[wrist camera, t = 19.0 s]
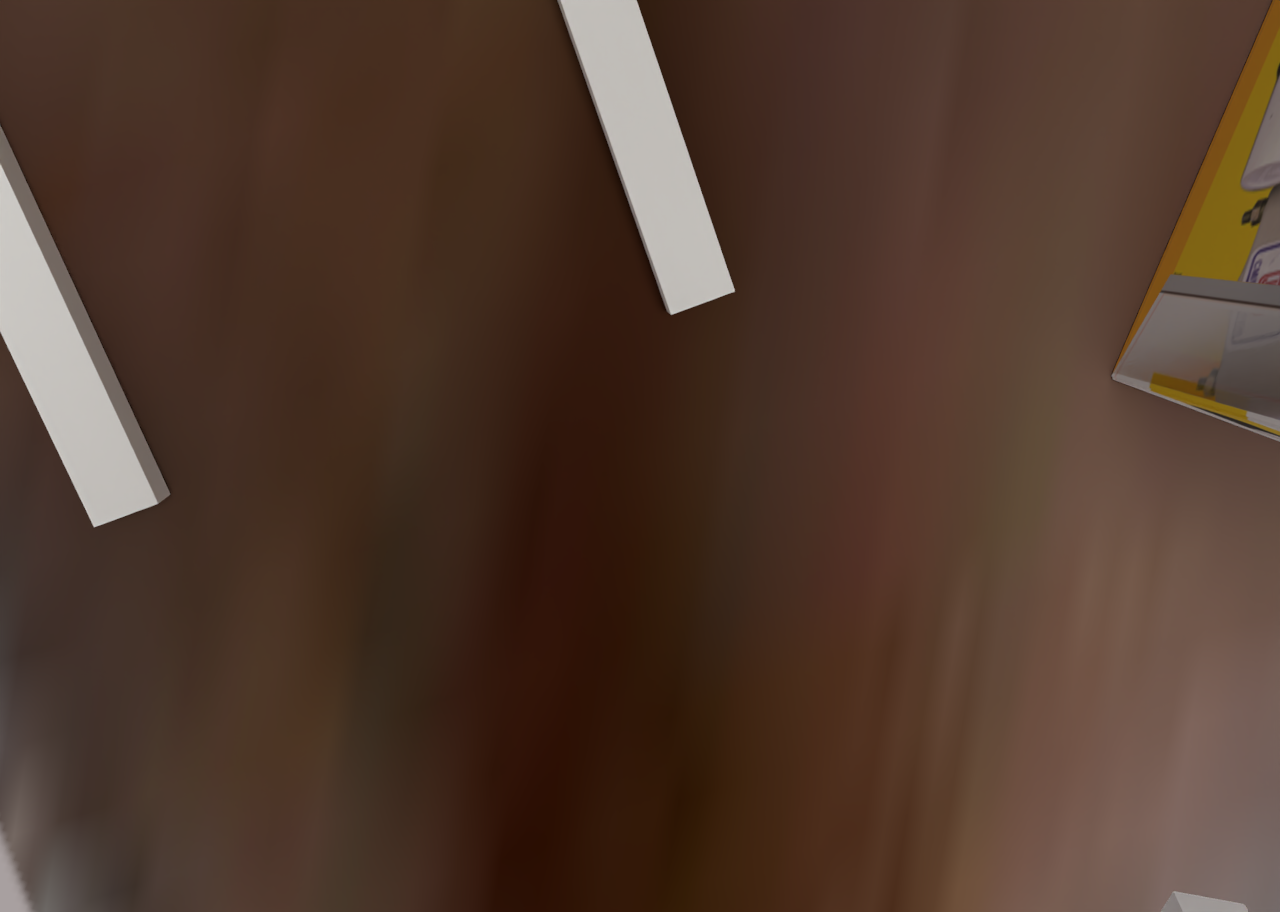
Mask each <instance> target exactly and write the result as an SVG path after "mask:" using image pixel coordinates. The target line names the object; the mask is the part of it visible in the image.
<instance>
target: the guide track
mask: <svg viewBox="0 0 1280 912" xmlns="http://www.w3.org/2000/svg"><path fill="white" fill-rule="evenodd" d="M557 1H558V4H559V6H560V9H561V12H562V15H563V18H564V21H565V23H566V26H567V29H568V32H569V35H570V38H571V40H572V43H573V46H574V49H575V52H576V55H577V58H578V60H579V63H580V66H581V69H582V72H583V75H584V77H585V80H586V83H587V86H588V89H589V92H590V94H591V97H592V100H593V103H594V106H595V109H596V111H597V114H598V117H599V120H600V123H601V126H602V128H603V131H604V134H605V137H606V140H607V143H608V145H609V148H610V151H611V154H612V157H613V160H614V162H615V165H616V168H617V171H618V174H619V177H620V179H621V182H622V185H623V188H624V191H625V194H626V197H627V199H628V202H629V205H630V208H631V211H632V214H633V216H634V219H635V222H636V225H637V228H638V231H639V233H640V236H641V239H642V242H643V245H644V248H645V250H646V253H647V256H648V259H649V262H650V265H651V267H652V270H653V273H654V276H655V279H656V282H657V284H658V287H659V290H660V293H661V296H662V299H663V301H664V304H665V307H666V310H667V312H668V313H669V314H671V315H672V314H675V313H678V312H681V311H683V310H686V309H689V308H691V307H694V306H697V305H700V304H702V303H705V302H708V301H710V300H713V299H716V298H719V297H721V296H724V295H727V294H729V293H732V292H735V290H734V287H733V284H732V281H731V278H730V275H729V272H728V269H727V266H726V263H725V260H724V257H723V254H722V251H721V248H720V245H719V242H718V239H717V236H716V234H715V231H714V228H713V225H712V222H711V219H710V216H709V213H708V210H707V207H706V204H705V201H704V198H703V195H702V192H701V189H700V186H699V183H698V180H697V177H696V174H695V171H694V169H693V166H692V163H691V160H690V157H689V154H688V151H687V148H686V145H685V142H684V139H683V136H682V133H681V130H680V127H679V124H678V121H677V118H676V115H675V112H674V109H673V106H672V104H671V101H670V98H669V95H668V92H667V89H666V86H665V83H664V80H663V77H662V74H661V71H660V68H659V65H658V62H657V59H656V56H655V53H654V50H653V47H652V44H651V41H650V39H649V36H648V33H647V30H646V27H645V24H644V21H643V18H642V15H641V12H640V9H639V6H638V3H637V0H557ZM0 332H1V334H2V336H3V338H4V340H5V342H6V345H7V347H8V349H9V351H10V353H11V355H12V357H13V359H14V361H15V363H16V365H17V368H18V370H19V372H20V374H21V376H22V378H23V380H24V382H25V384H26V386H27V388H28V390H29V393H30V395H31V397H32V399H33V401H34V403H35V405H36V407H37V409H38V411H39V413H40V416H41V418H42V420H43V422H44V424H45V426H46V428H47V430H48V432H49V434H50V436H51V438H52V441H53V443H54V445H55V447H56V449H57V451H58V453H59V455H60V457H61V459H62V461H63V464H64V466H65V468H66V470H67V472H68V474H69V476H70V478H71V480H72V482H73V484H74V486H75V489H76V491H77V493H78V495H79V497H80V499H81V501H82V503H83V505H84V507H85V509H86V512H87V514H88V516H89V518H90V520H91V522H92V524H93V526H94V527H96V526H99V525H102V524H105V523H107V522H110V521H113V520H115V519H118V518H121V517H124V516H126V515H129V514H132V513H134V512H137V511H140V510H143V509H145V508H148V507H151V506H154V505H156V504H159V503H160V502H161V501H163V500H164V499H165V498H166V497H168V496H169V495H170V492H169V490H168V487H167V485H166V483H165V481H164V479H163V477H162V474H161V472H160V470H159V468H158V466H157V464H156V461H155V459H154V457H153V455H152V453H151V451H150V448H149V446H148V444H147V442H146V440H145V438H144V435H143V433H142V431H141V429H140V427H139V425H138V422H137V420H136V418H135V416H134V414H133V412H132V409H131V407H130V405H129V403H128V401H127V399H126V396H125V394H124V392H123V390H122V388H121V386H120V383H119V381H118V379H117V377H116V375H115V373H114V370H113V368H112V366H111V364H110V362H109V360H108V357H107V355H106V353H105V351H104V349H103V347H102V344H101V342H100V340H99V338H98V336H97V334H96V331H95V329H94V327H93V325H92V323H91V321H90V318H89V316H88V314H87V312H86V310H85V308H84V305H83V303H82V301H81V299H80V297H79V294H78V292H77V290H76V288H75V286H74V284H73V281H72V279H71V277H70V275H69V273H68V271H67V268H66V266H65V264H64V262H63V260H62V258H61V255H60V253H59V251H58V249H57V247H56V245H55V242H54V240H53V238H52V236H51V234H50V232H49V229H48V227H47V225H46V223H45V221H44V219H43V216H42V214H41V212H40V210H39V208H38V206H37V203H36V201H35V199H34V197H33V195H32V193H31V190H30V188H29V186H28V184H27V182H26V180H25V177H24V175H23V173H22V171H21V169H20V167H19V164H18V162H17V160H16V158H15V156H14V154H13V151H12V149H11V147H10V145H9V143H8V141H7V138H6V136H5V134H4V132H3V130H2V128H1V125H0Z"/></svg>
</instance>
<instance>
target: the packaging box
mask: <svg viewBox="0 0 1280 912" xmlns="http://www.w3.org/2000/svg"><path fill="white" fill-rule="evenodd" d="M1111 377H1113V378H1112V379H1113V380H1115V381H1118V382H1121V383H1123V384H1126V385H1129V386H1131V387H1134V388H1137V389H1140V390H1142V391H1145V392H1148V393H1150V394H1153V395H1156V396H1158V397H1161V398H1164V399H1166V400H1169V401H1172V402H1174V403H1177V404H1180V405H1182V406H1185V407H1188V408H1190V409H1193V410H1196V411H1199V412H1201V413H1204V414H1207V415H1209V416H1212V417H1215V418H1217V419H1220V420H1223V421H1225V422H1228V423H1231V424H1233V425H1236V426H1239V427H1241V428H1244V429H1247V430H1250V431H1252V432H1255V433H1258V434H1260V435H1263V436H1266V437H1268V438H1271V439H1274V440H1276V441H1279V442H1280V0H1273V1H1272V4H1271V6H1270V8H1269V10H1268V13H1267V15H1266V17H1265V20H1264V22H1263V24H1262V27H1261V29H1260V31H1259V34H1258V36H1257V38H1256V41H1255V43H1254V45H1253V48H1252V50H1251V52H1250V55H1249V57H1248V59H1247V62H1246V64H1245V66H1244V69H1243V71H1242V73H1241V75H1240V78H1239V80H1238V82H1237V85H1236V87H1235V89H1234V92H1233V94H1232V96H1231V99H1230V101H1229V103H1228V106H1227V108H1226V110H1225V113H1224V115H1223V117H1222V120H1221V122H1220V124H1219V127H1218V129H1217V131H1216V134H1215V136H1214V138H1213V141H1212V143H1211V145H1210V147H1209V150H1208V152H1207V154H1206V157H1205V159H1204V161H1203V164H1202V166H1201V168H1200V171H1199V173H1198V175H1197V178H1196V180H1195V182H1194V185H1193V187H1192V189H1191V192H1190V194H1189V196H1188V199H1187V201H1186V203H1185V206H1184V208H1183V210H1182V213H1181V215H1180V217H1179V219H1178V222H1177V224H1176V226H1175V229H1174V231H1173V233H1172V236H1171V238H1170V240H1169V243H1168V245H1167V247H1166V250H1165V252H1164V254H1163V257H1162V259H1161V261H1160V264H1159V266H1158V268H1157V271H1156V273H1155V275H1154V278H1153V280H1152V282H1151V285H1150V287H1149V289H1148V291H1147V294H1146V296H1145V298H1144V301H1143V303H1142V305H1141V308H1140V310H1139V312H1138V315H1137V317H1136V319H1135V322H1134V324H1133V326H1132V329H1131V331H1130V333H1129V336H1128V338H1127V340H1126V343H1125V345H1124V347H1123V350H1122V352H1121V354H1120V356H1119V359H1118V361H1117V363H1116V366H1115V368H1114V370H1113V374H1112V375H1111Z"/></svg>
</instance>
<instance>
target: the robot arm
mask: <svg viewBox="0 0 1280 912" xmlns="http://www.w3.org/2000/svg"><path fill="white" fill-rule="evenodd" d="M1161 912H1248V910H1247V908H1246V906H1245V904H1241V903H1235V902H1230V901H1224V900H1219V899H1214V898H1208V897H1203V896H1197V895H1192V894H1186V893H1181V892H1175V891H1173V893H1172V894H1171V896H1170V897H1169V899H1168V901H1167V902H1166V904H1165V905H1164V907H1163V909H1162V910H1161Z"/></svg>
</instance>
